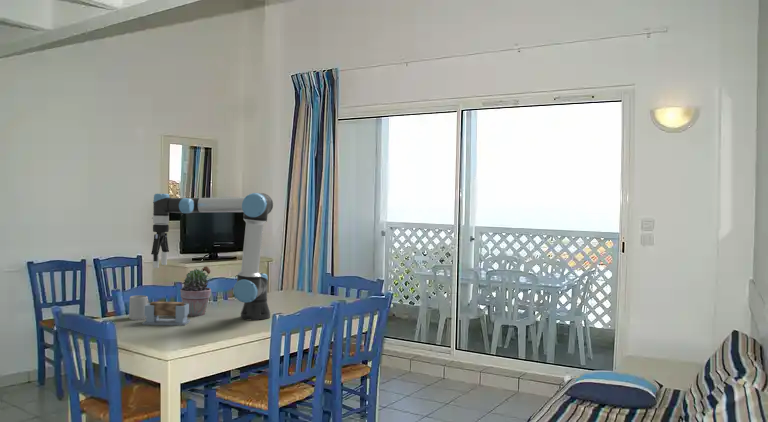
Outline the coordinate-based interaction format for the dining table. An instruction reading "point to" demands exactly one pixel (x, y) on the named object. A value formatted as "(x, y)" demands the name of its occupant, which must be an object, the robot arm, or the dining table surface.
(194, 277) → the potted plant
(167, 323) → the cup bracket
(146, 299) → the mug
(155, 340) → the dining table surface
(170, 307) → the tapered block
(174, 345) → the dining table surface
